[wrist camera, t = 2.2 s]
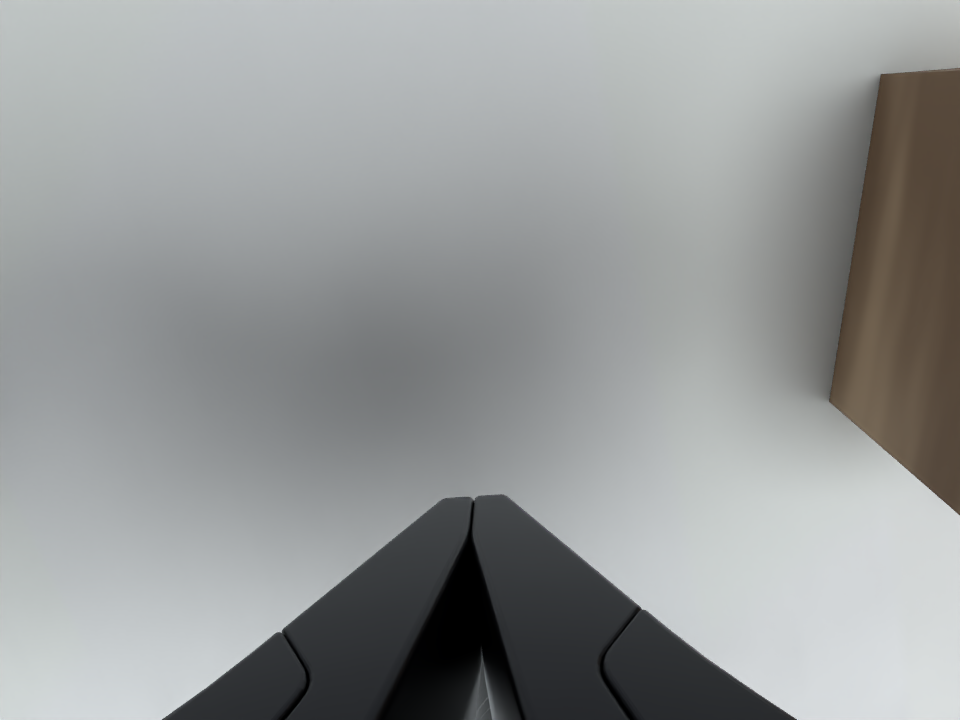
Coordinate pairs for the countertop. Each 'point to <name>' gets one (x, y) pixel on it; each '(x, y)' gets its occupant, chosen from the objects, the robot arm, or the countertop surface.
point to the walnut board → (908, 283)
